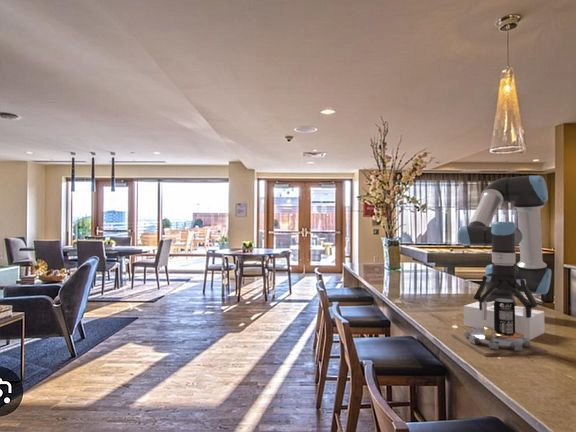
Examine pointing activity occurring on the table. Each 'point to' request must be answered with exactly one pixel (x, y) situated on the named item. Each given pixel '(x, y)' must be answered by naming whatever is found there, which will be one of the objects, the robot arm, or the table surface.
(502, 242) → the robot arm
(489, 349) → the board
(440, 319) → the table surface
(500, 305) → the beverage can
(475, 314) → the tissue box
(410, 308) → the table surface
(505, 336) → the sprocket
